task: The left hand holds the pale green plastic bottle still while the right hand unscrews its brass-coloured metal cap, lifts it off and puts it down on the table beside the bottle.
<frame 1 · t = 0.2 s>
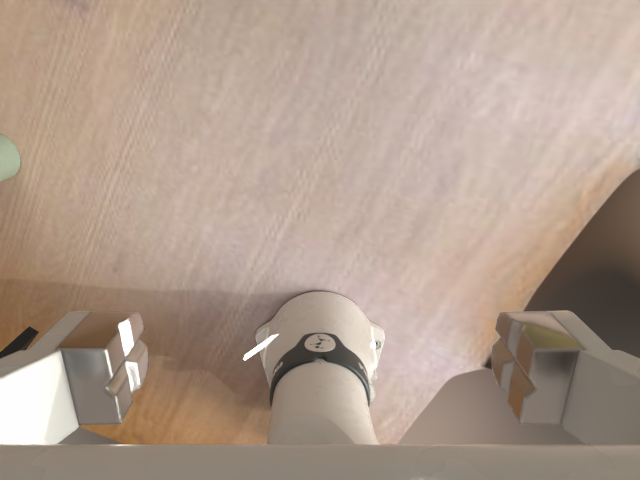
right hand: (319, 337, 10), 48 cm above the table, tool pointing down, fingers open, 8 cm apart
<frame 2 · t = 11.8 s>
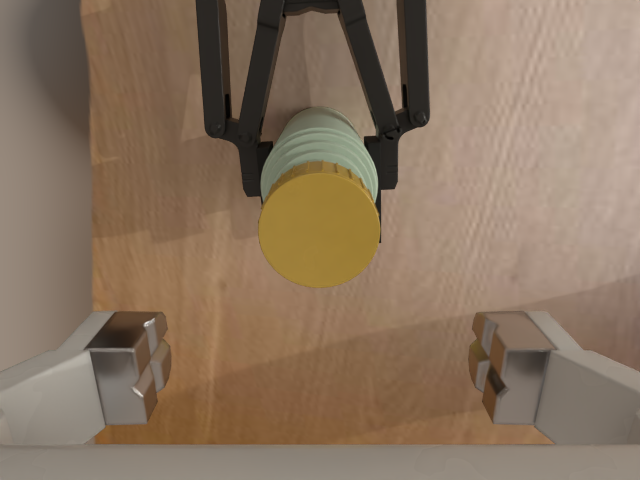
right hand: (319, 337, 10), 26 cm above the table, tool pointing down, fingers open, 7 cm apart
left hand: (323, 237, 31), fingers closed on bottle, 6 cm apart
bottle: (319, 147, 35), on the table, touching left hand
cap: (319, 230, 17), point 19 cm above the table, screwed on, not yet turned
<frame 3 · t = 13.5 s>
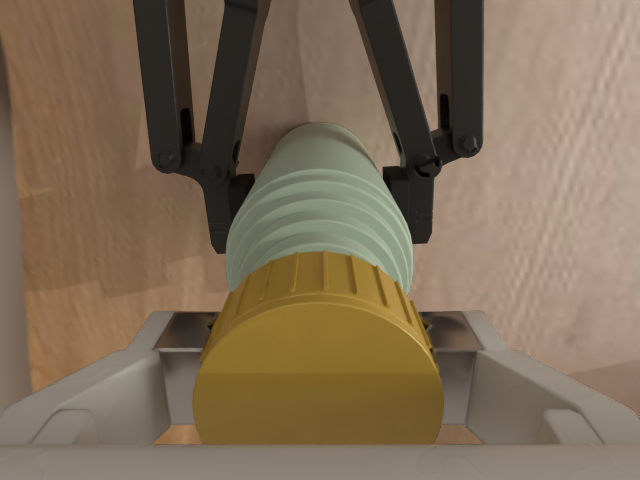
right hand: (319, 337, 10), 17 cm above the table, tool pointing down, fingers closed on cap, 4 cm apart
left hand: (325, 306, 22), fingers closed on bottle, 6 cm apart
bottle: (319, 175, 26), on the table, touching left hand
cap: (318, 402, 8), point 19 cm above the table, screwed on, not yet turned, touching right hand
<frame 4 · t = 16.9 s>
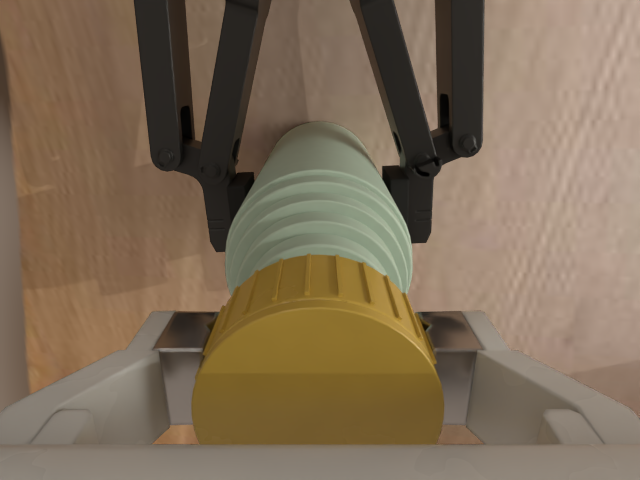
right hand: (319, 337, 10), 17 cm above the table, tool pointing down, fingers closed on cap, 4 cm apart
left hand: (324, 305, 22), fingers closed on bottle, 6 cm apart
bottle: (319, 174, 26), on the table, touching left hand
cap: (317, 407, 8), point 19 cm above the table, turned 80° so far, risen 0.1 cm, still on its thread, touching right hand
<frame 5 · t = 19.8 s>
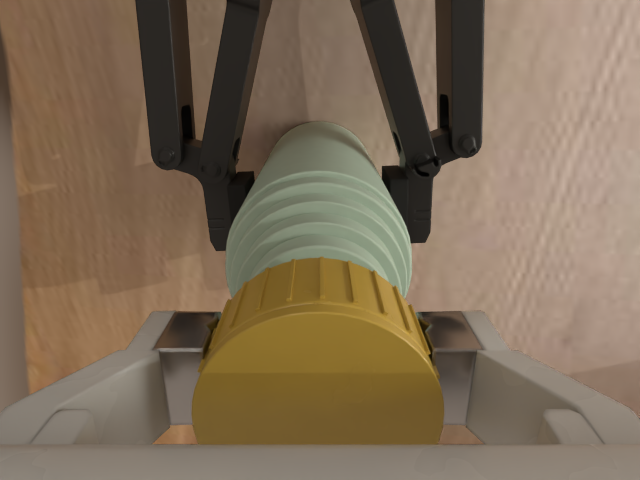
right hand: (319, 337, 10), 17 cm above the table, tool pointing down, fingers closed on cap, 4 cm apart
left hand: (323, 304, 22), fingers closed on bottle, 6 cm apart
bottle: (319, 174, 26), on the table, touching left hand
cap: (318, 410, 8), point 19 cm above the table, turned 160° so far, risen 0.1 cm, still on its thread, touching right hand
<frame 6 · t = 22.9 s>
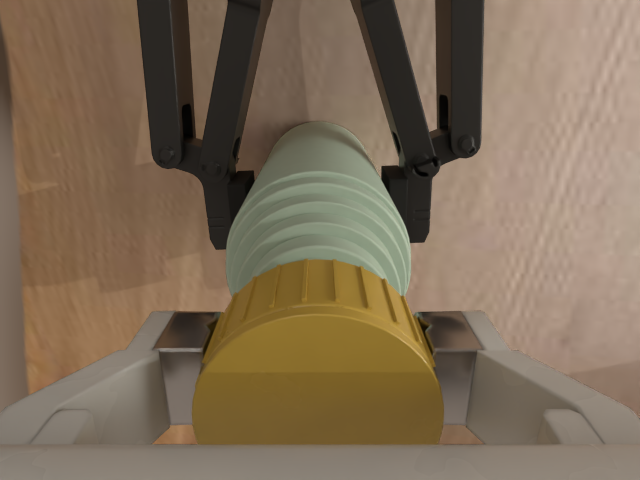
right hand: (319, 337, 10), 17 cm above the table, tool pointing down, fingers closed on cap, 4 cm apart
left hand: (322, 303, 22), fingers closed on bottle, 6 cm apart
bottle: (318, 174, 26), on the table, touching left hand
cap: (318, 412, 8), point 19 cm above the table, turned 241° so far, risen 0.2 cm, still on its thread, touching right hand
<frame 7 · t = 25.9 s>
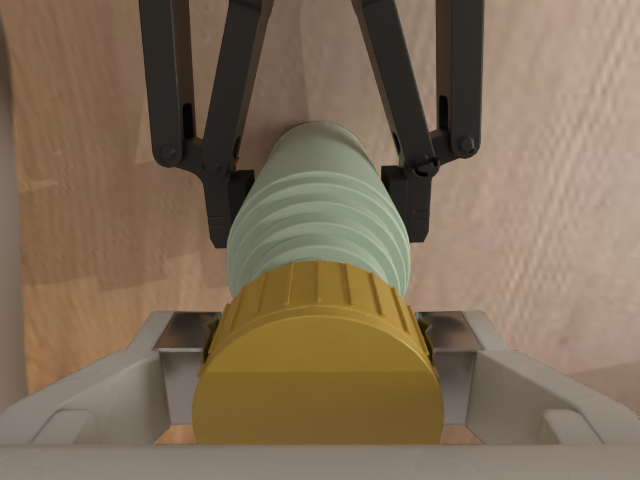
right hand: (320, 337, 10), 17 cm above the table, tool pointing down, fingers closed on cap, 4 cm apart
left hand: (321, 302, 22), fingers closed on bottle, 6 cm apart
bottle: (318, 174, 26), on the table, touching left hand
cap: (318, 413, 8), point 19 cm above the table, turned 321° so far, risen 0.3 cm, still on its thread, touching right hand
when the right hand's fingers open (2 cm above the table, at t = 35.6 s): cap drops 2 cm, point 2 cm above the table.
when the left hand's fingers open (6 cm above the table, at t = 36.6 s): bottle stays where it is, on the table.
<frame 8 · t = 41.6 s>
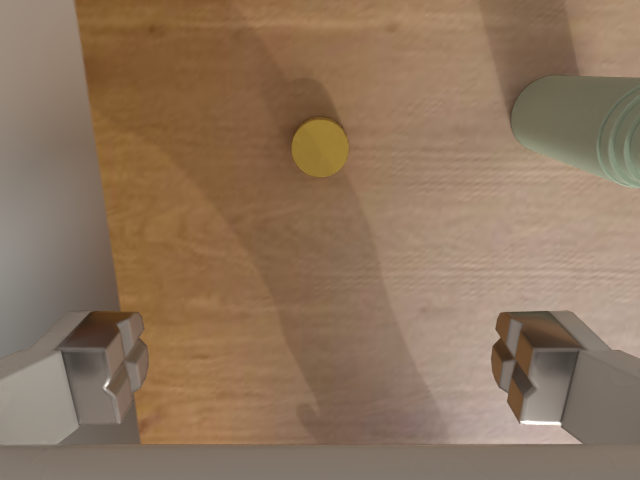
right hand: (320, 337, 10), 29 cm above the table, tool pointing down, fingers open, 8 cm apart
bottle: (547, 114, 37), on the table
cap: (320, 148, 36), point 2 cm above the table, off its thread
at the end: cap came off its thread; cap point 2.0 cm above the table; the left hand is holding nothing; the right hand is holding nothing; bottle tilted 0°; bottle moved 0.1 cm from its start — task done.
